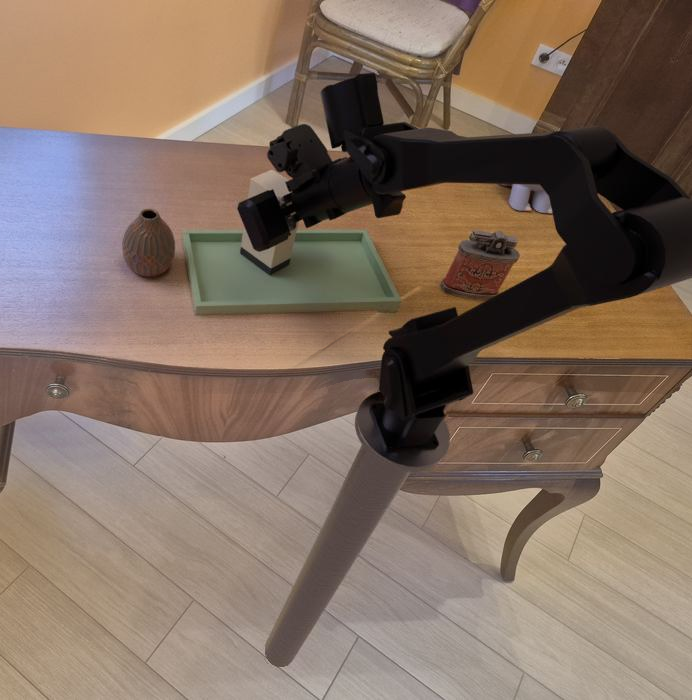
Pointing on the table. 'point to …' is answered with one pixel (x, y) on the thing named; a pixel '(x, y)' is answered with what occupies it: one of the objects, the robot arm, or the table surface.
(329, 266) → the tray
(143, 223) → the vase
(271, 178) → the eraser
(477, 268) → the lighter
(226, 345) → the table surface
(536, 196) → the hippopotamus toy
